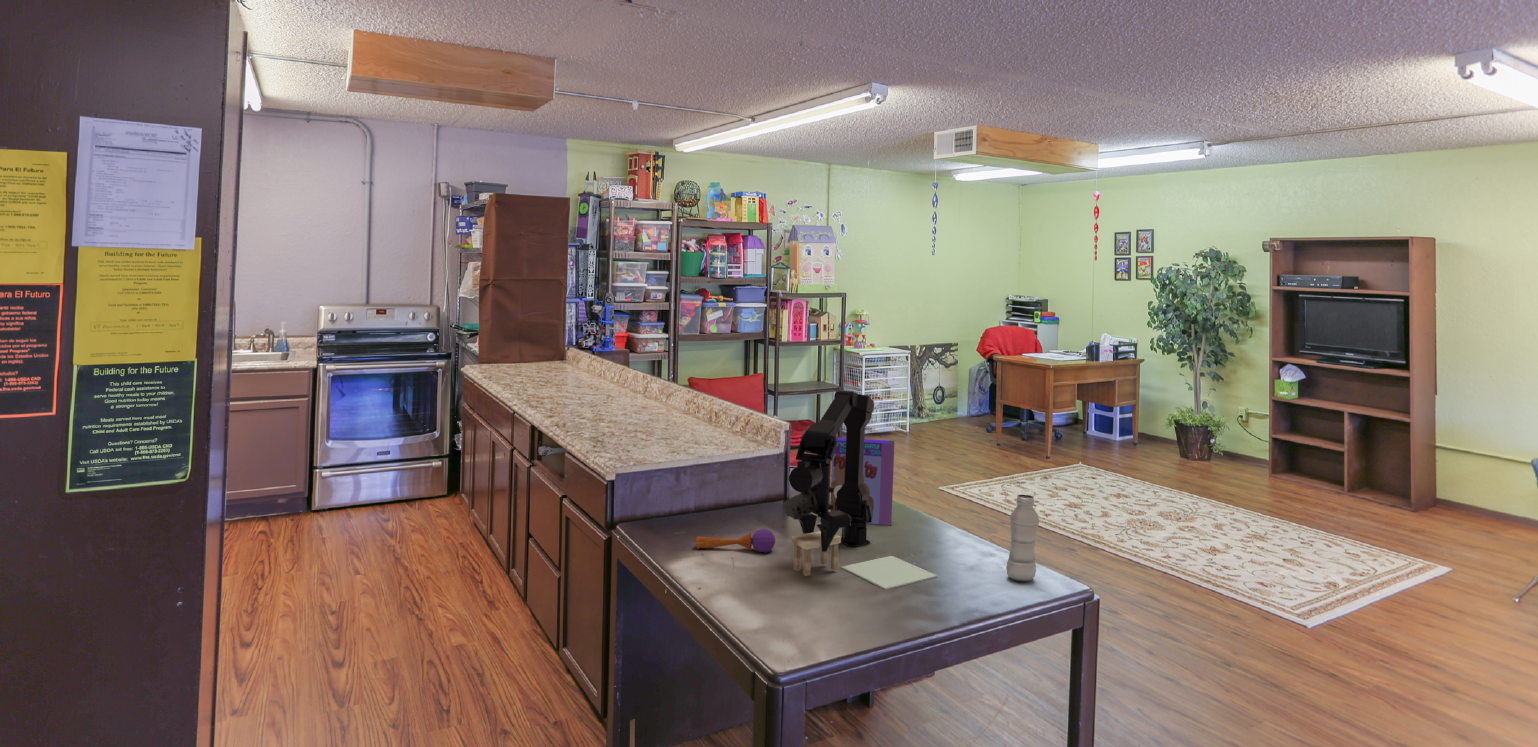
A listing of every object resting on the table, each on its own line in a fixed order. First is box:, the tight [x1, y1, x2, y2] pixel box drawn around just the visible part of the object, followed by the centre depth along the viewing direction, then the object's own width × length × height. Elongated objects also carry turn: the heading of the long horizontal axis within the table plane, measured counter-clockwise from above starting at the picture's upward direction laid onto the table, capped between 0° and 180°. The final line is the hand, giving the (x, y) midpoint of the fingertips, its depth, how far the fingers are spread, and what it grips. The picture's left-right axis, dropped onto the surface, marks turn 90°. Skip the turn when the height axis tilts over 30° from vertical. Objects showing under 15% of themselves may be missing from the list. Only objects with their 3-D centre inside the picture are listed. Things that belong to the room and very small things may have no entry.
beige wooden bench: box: [791, 530, 842, 577], centre depth 190 cm, size 6×10×8 cm, turn 123°
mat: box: [841, 555, 938, 591], centre depth 191 cm, size 16×16×1 cm
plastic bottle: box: [1005, 493, 1040, 582], centre depth 187 cm, size 6×7×20 cm
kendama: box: [695, 528, 776, 553], centre depth 205 cm, size 6×6×20 cm
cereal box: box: [829, 437, 895, 527], centre depth 231 cm, size 17×5×24 cm, turn 81°
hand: (816, 547), depth 190 cm, fingers closed on beige wooden bench, 6 cm apart
